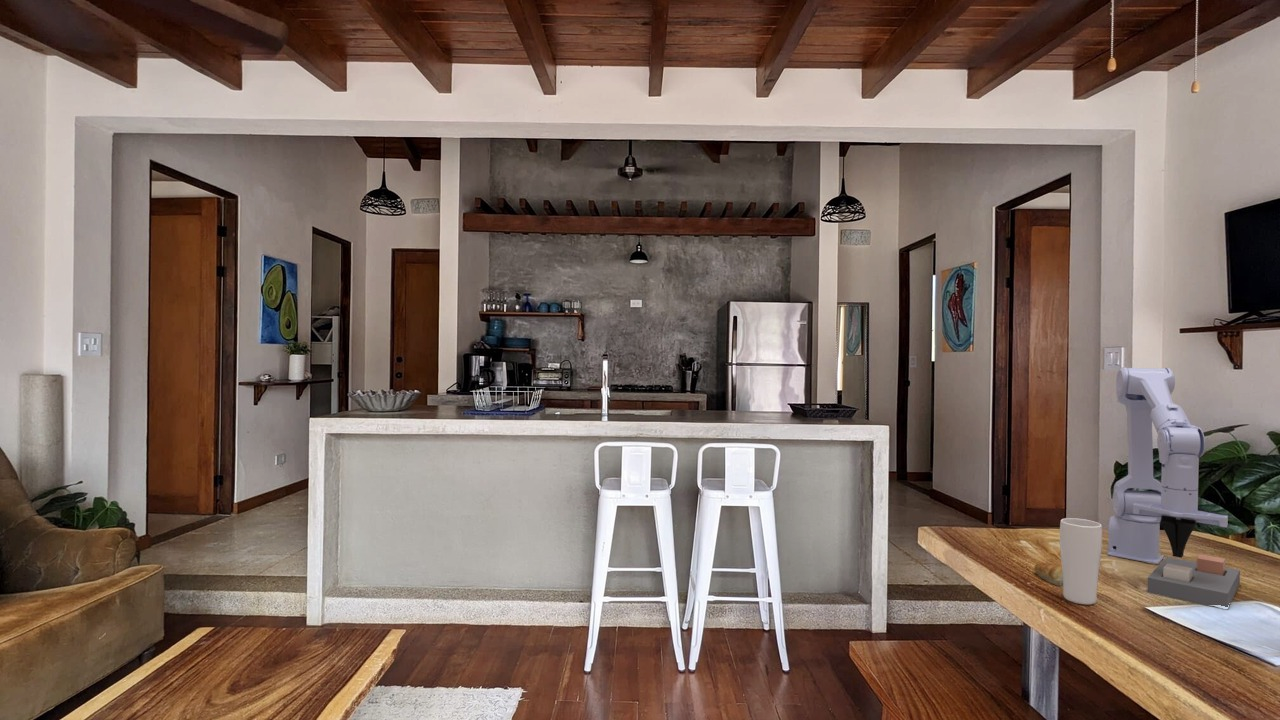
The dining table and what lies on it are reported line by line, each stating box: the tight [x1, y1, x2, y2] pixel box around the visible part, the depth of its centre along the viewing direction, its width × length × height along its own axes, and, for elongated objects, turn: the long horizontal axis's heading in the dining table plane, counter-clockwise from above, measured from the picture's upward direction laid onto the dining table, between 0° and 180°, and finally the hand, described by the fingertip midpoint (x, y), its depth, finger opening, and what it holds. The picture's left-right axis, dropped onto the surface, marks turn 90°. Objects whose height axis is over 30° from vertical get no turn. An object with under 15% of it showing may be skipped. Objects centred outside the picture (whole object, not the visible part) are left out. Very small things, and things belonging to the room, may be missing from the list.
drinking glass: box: [1059, 517, 1103, 605], centre depth 129 cm, size 7×7×15 cm
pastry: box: [1033, 562, 1063, 588], centre depth 141 cm, size 9×7×4 cm
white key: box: [1163, 564, 1192, 582], centre depth 134 cm, size 4×4×3 cm
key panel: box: [1146, 556, 1241, 607], centre depth 136 cm, size 12×20×3 cm, turn 134°
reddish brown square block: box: [1196, 553, 1226, 576], centre depth 138 cm, size 4×4×3 cm
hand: (1178, 556), depth 134 cm, fingers closed
